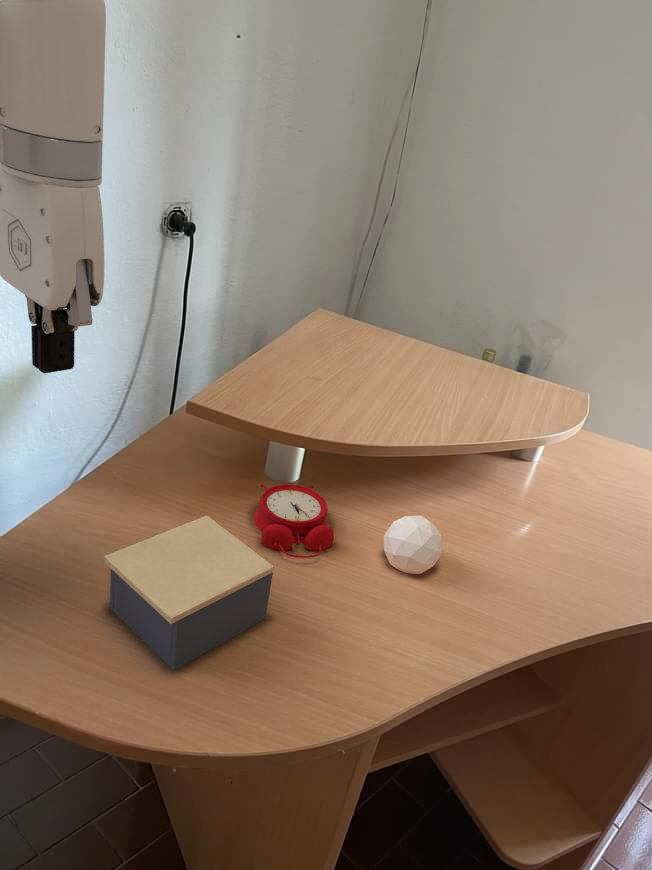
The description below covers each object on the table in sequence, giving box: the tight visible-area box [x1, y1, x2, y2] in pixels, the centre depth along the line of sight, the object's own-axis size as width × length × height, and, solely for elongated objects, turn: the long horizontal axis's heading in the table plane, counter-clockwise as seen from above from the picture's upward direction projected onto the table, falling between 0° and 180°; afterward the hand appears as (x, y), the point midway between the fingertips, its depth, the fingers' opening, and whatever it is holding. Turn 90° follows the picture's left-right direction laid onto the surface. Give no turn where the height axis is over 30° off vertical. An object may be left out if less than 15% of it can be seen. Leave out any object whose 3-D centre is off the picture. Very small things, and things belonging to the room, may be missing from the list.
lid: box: [103, 515, 274, 624], centre depth 73 cm, size 13×11×1 cm
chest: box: [109, 568, 274, 671], centre depth 75 cm, size 12×11×8 cm
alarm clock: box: [253, 483, 335, 559], centre depth 94 cm, size 10×6×15 cm
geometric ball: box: [383, 515, 443, 575], centre depth 92 cm, size 8×8×8 cm
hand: (53, 367), depth 65 cm, fingers closed
